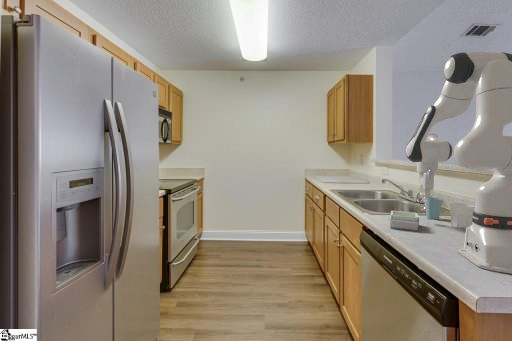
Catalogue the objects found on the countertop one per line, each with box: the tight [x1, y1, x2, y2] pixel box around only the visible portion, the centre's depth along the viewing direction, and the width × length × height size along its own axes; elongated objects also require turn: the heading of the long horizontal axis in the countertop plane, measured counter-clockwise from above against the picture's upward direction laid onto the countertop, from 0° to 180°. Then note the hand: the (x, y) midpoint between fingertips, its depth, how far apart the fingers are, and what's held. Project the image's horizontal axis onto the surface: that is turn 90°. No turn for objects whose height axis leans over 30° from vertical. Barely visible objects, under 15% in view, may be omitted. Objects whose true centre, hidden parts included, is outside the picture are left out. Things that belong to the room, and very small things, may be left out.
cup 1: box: [425, 196, 444, 221], centre depth 155 cm, size 8×8×10 cm
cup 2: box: [449, 202, 475, 229], centre depth 139 cm, size 10×10×10 cm
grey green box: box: [390, 210, 420, 227], centre depth 138 cm, size 12×11×5 cm
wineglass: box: [418, 184, 434, 211], centre depth 145 cm, size 6×6×12 cm
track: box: [389, 216, 420, 232], centre depth 141 cm, size 23×11×4 cm, turn 157°
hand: (426, 197), depth 145 cm, fingers closed on wineglass, 5 cm apart
